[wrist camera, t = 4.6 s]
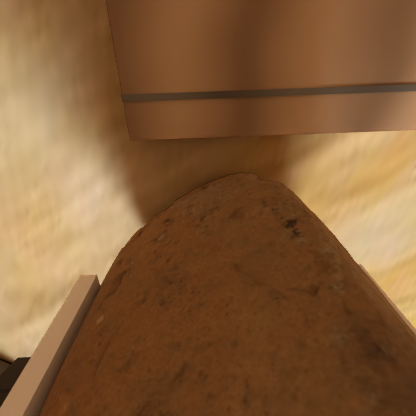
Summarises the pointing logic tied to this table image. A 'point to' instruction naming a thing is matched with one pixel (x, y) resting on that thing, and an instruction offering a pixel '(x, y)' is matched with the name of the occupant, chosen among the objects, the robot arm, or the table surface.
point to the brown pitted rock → (237, 319)
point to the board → (264, 66)
